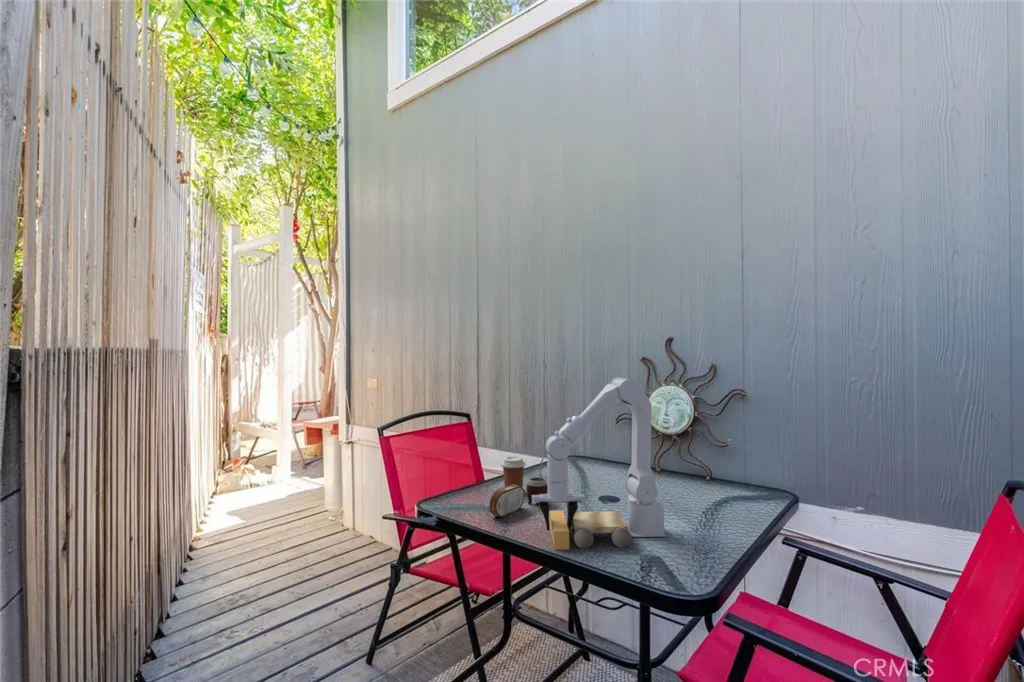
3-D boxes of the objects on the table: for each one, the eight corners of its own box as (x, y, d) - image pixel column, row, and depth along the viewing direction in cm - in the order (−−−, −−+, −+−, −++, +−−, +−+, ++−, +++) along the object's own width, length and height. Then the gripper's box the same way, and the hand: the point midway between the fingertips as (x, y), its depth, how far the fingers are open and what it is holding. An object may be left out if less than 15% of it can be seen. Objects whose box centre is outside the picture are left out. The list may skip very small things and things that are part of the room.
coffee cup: (499, 494, 176) (499, 461, 176) (503, 487, 185) (502, 455, 185) (524, 494, 175) (524, 461, 175) (527, 487, 184) (526, 455, 184)
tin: (519, 506, 163) (518, 480, 163) (526, 508, 161) (526, 482, 161) (488, 519, 151) (488, 491, 151) (496, 521, 149) (496, 493, 149)
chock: (563, 527, 144) (563, 510, 144) (569, 550, 128) (569, 530, 128) (549, 527, 144) (549, 510, 144) (554, 550, 128) (553, 531, 128)
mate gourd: (529, 507, 162) (529, 461, 162) (524, 500, 169) (523, 456, 170) (551, 505, 163) (550, 460, 163) (545, 498, 171) (544, 455, 171)
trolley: (618, 526, 143) (618, 509, 143) (631, 547, 128) (631, 528, 128) (567, 527, 143) (567, 510, 143) (574, 548, 128) (574, 529, 128)
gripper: (581, 475, 139) (582, 523, 139) (531, 476, 139) (531, 524, 139) (585, 482, 132) (586, 532, 132) (532, 483, 132) (532, 533, 132)
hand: (558, 529), depth 135 cm, fingers open, 5 cm apart
